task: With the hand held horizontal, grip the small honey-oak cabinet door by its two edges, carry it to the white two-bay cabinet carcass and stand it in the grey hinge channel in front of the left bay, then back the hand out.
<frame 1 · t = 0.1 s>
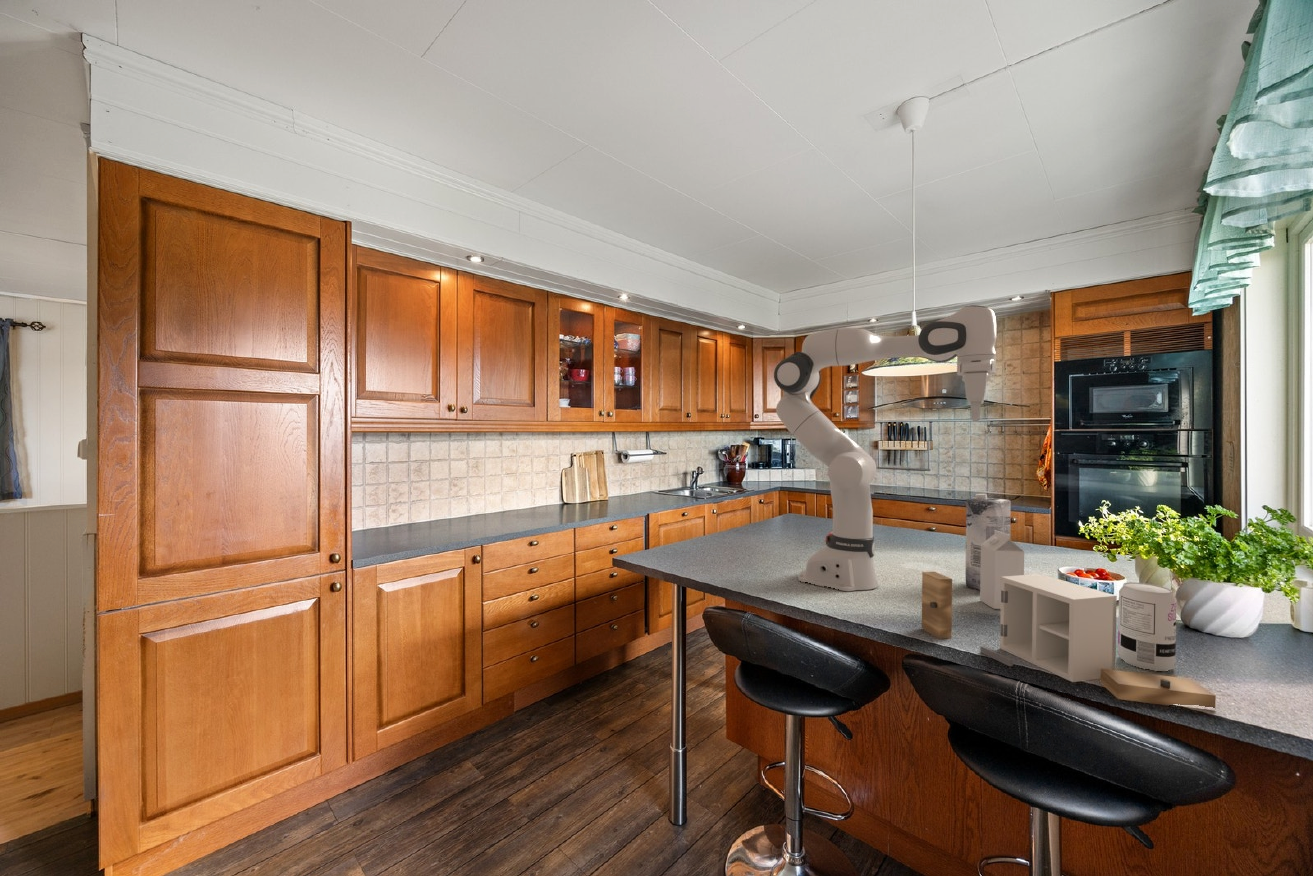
hand: (975, 420, 140), 48 cm above the countertop, tool pointing down, fingers open, 8 cm apart
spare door: (1154, 698, 91), on the countertop
milk carton: (1001, 606, 138), on the countertop
juice carton: (986, 588, 153), on the countertop
supplement can: (1145, 665, 104), on the countertop
carcass: (1054, 661, 105), on the countertop
oak door: (936, 633, 119), on the countertop
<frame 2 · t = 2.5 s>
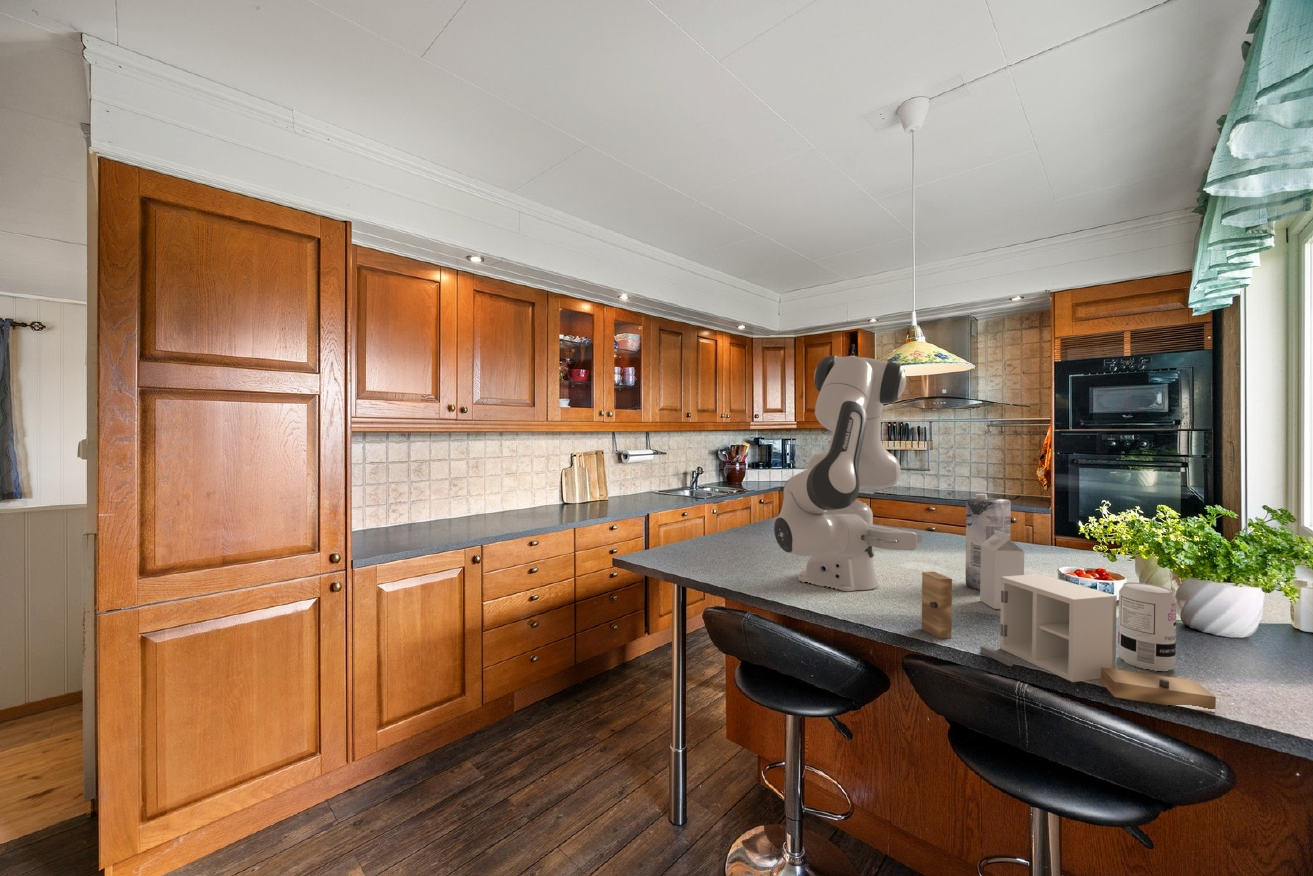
hand: (903, 535, 117), 22 cm above the countertop, tool horizontal, fingers open, 8 cm apart
nothing on the countertop moved.
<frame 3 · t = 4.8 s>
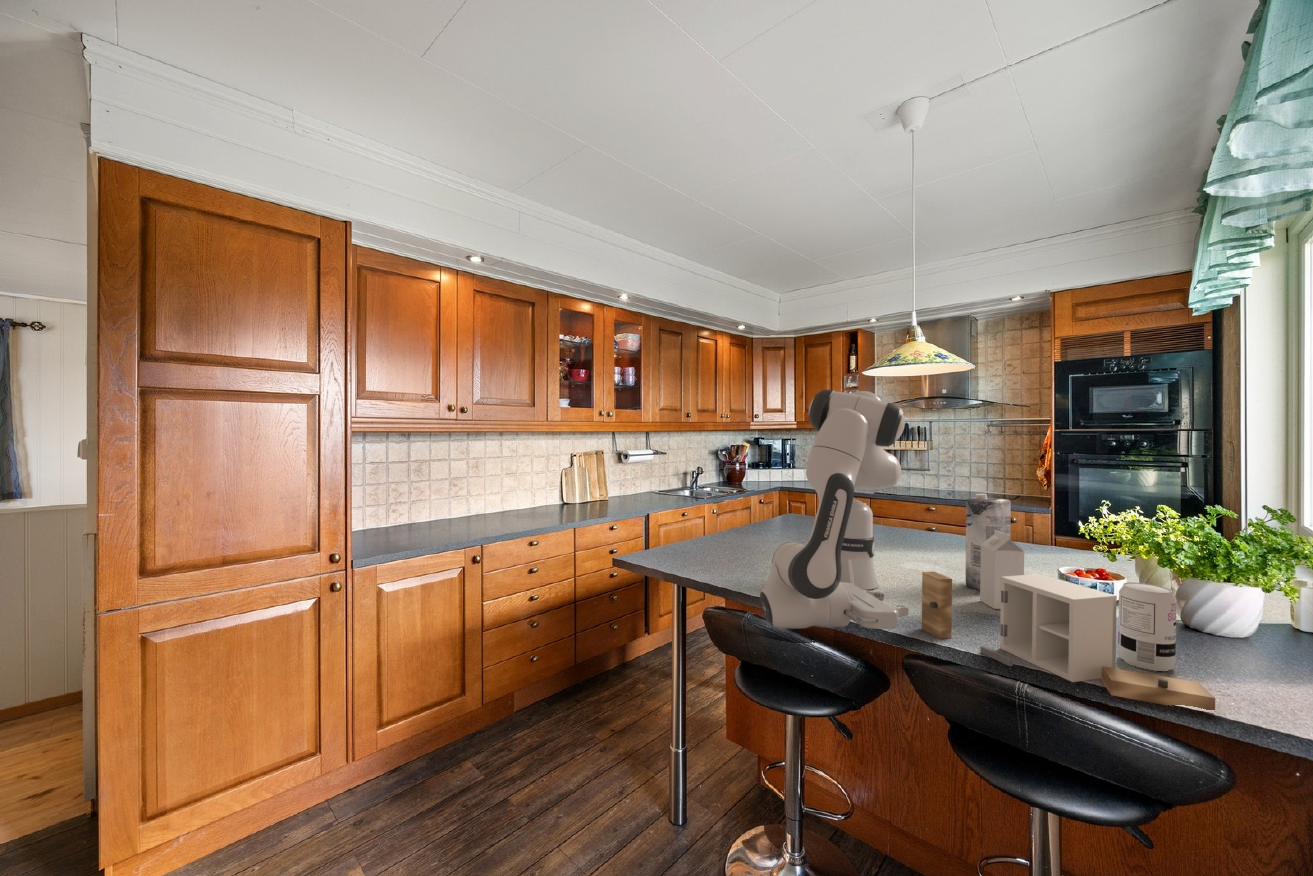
hand: (893, 603, 118), 7 cm above the countertop, tool horizontal, fingers open, 8 cm apart
nothing on the countertop moved.
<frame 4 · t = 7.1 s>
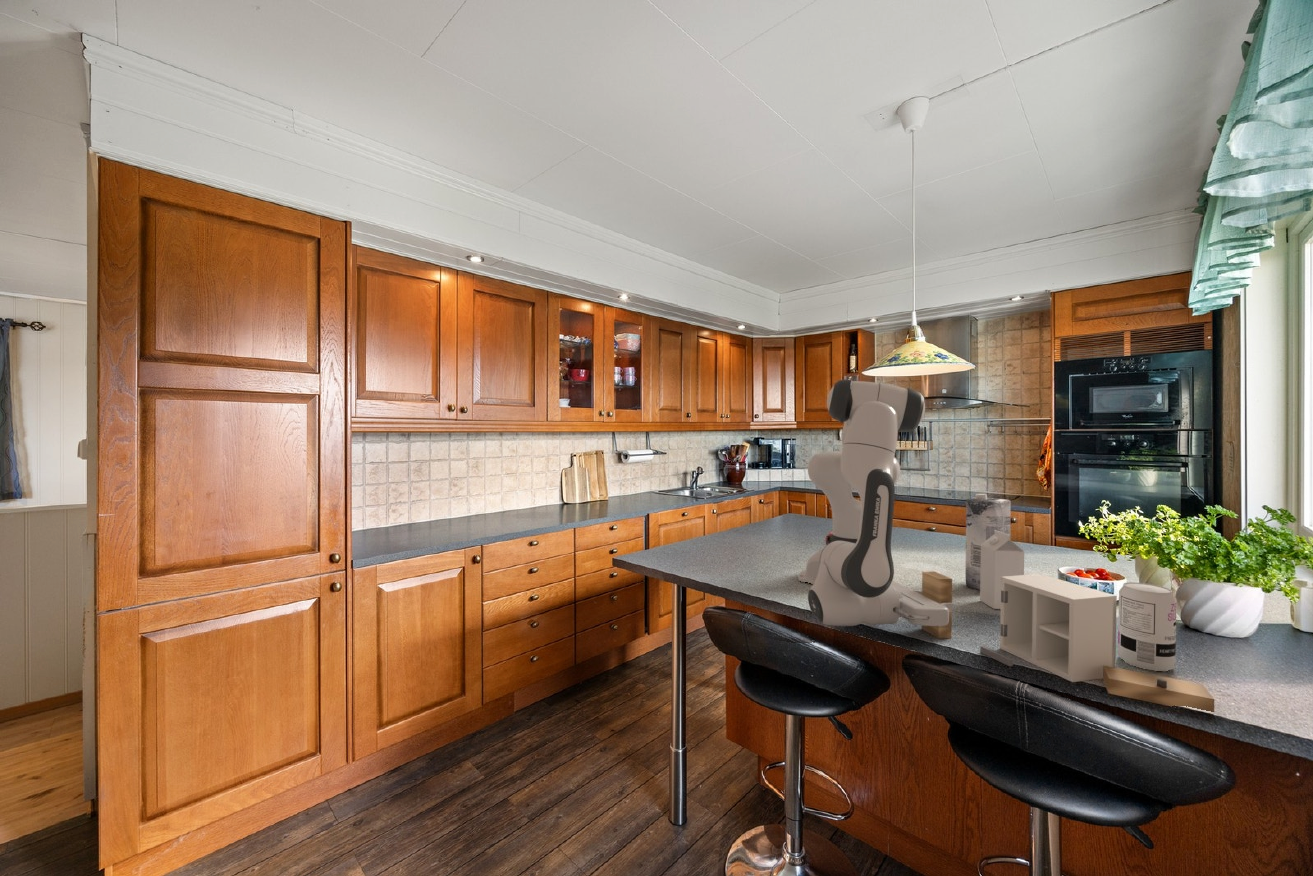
hand: (940, 600, 119), 7 cm above the countertop, tool horizontal, fingers closed on oak door, 6 cm apart
oak door: (936, 633, 119), on the countertop, touching gripper
everything else where it was.
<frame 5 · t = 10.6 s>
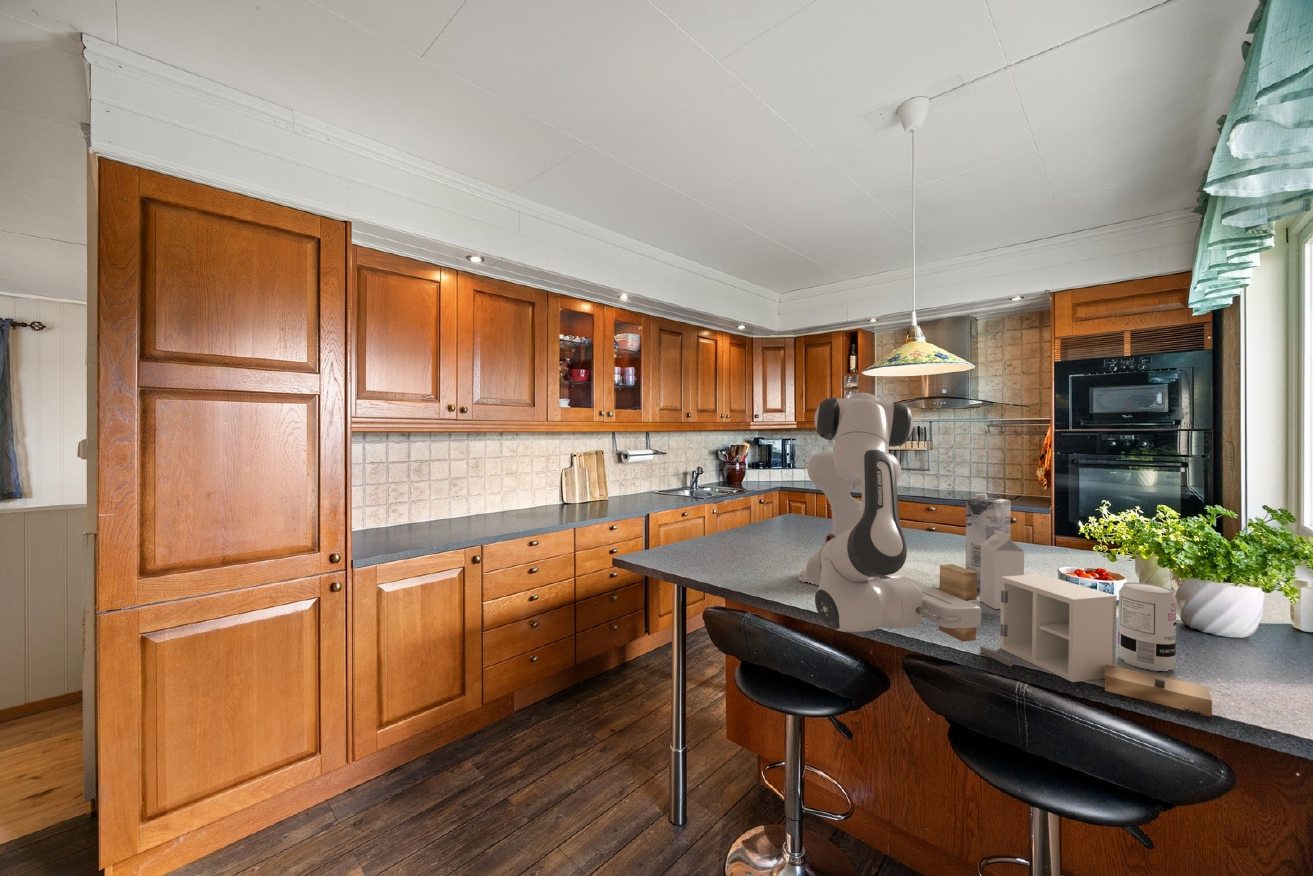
hand: (961, 597, 104), 13 cm above the countertop, tool horizontal, fingers closed on oak door, 6 cm apart
oak door: (956, 635, 104), point 6 cm above the countertop, touching gripper
when the fingers open (9 cm above the countertop, at t = 14.2 s): oak door drops 1 cm, on the countertop.
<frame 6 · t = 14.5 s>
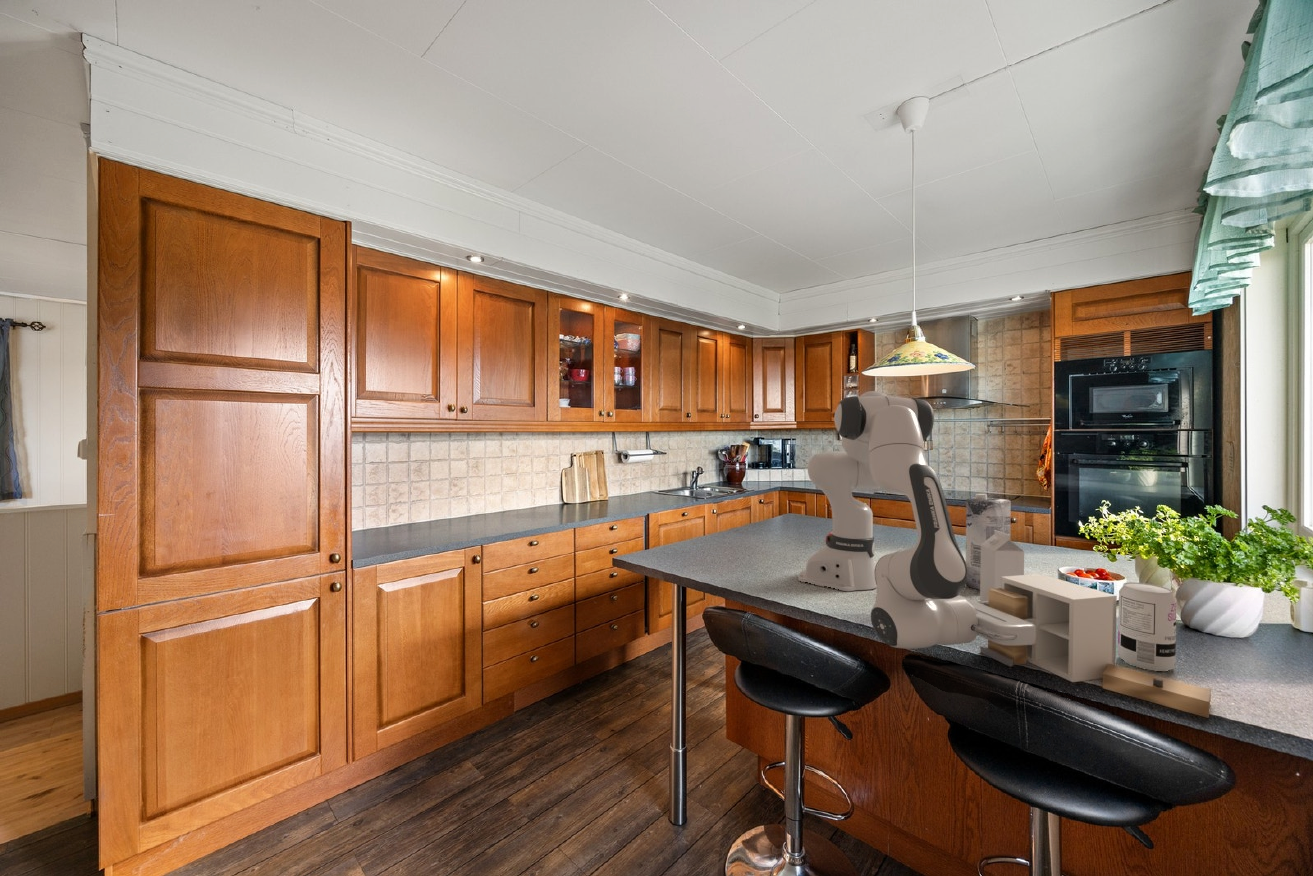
hand: (1011, 614, 106), 9 cm above the countertop, tool horizontal, fingers open, 8 cm apart
oak door: (1006, 657, 106), on the countertop
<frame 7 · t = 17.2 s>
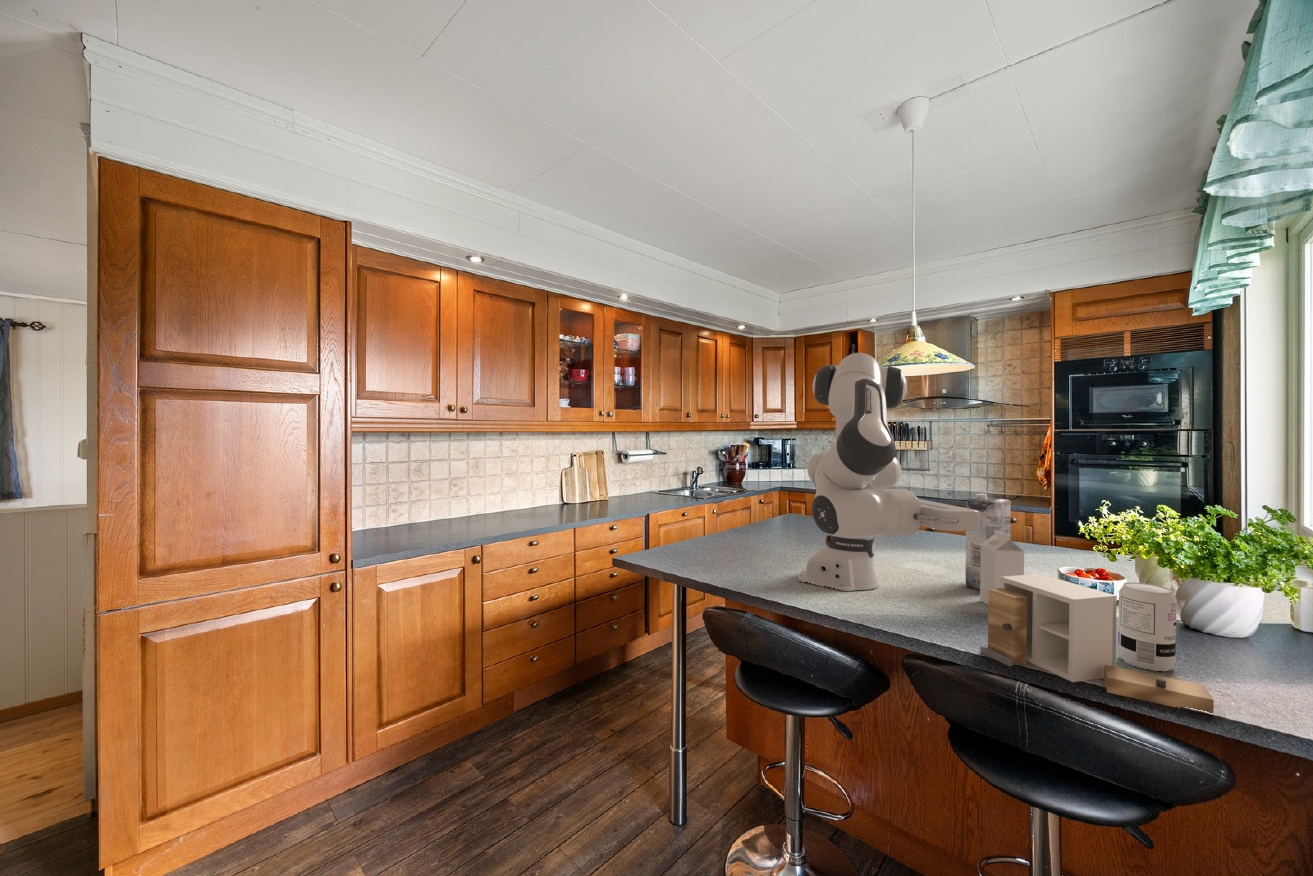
hand: (958, 511, 103), 30 cm above the countertop, tool horizontal, fingers open, 8 cm apart
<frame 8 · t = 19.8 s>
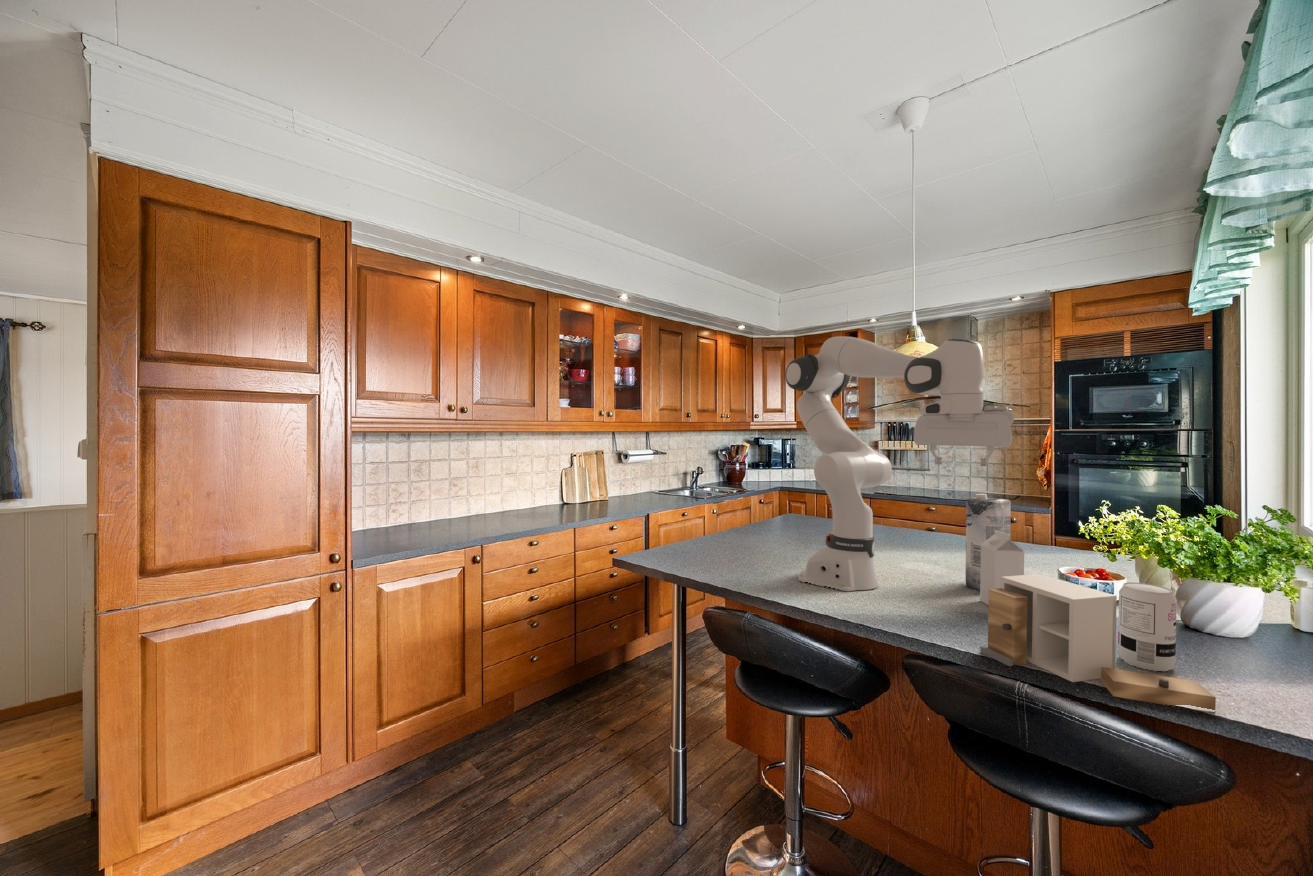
hand: (960, 465, 127), 37 cm above the countertop, tool pointing down, fingers open, 8 cm apart
at the end: oak door 0.1 cm from the target spot, on the countertop; oak door tilted 0°; the gripper is holding nothing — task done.
